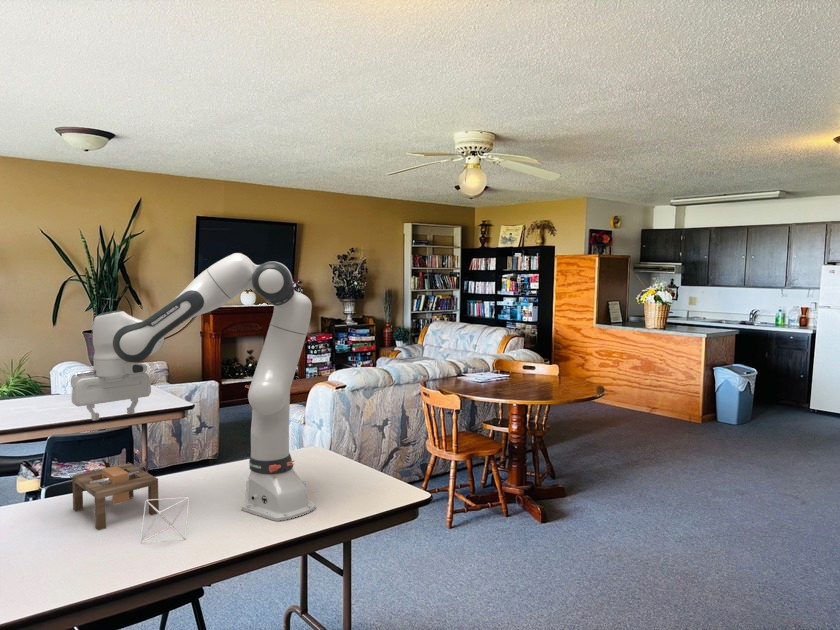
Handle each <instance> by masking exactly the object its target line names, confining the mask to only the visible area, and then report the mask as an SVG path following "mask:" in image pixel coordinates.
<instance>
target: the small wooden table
mask: <svg viewBox="0 0 840 630" xmlns="http://www.w3.org/2000/svg"><path fill="white" fill-rule="evenodd" d="M117 466H118V467H119V468H121V469H123V470H124V471H126V472H128V473H131V472H135V471H139V473H134V478H129V480H128V481H124V482H120V483H116V484H111V485H107V486H102V485H100V484H99V483H97V482H95V483H90V482H91V481H95V480H99V479H102V469H103V468H101V469H96V470H91V471H88V472H82V473H78V474H74V475H72V476H71V477H72V478H71V480H72V509H73V511H74V512H80V511H82V510H84V495H83V493H84V491H85V492H87V493H89V494H90V495H91V496H92V497H93V498H94V525H95V526H94V527H95V529H96V530H97V531H101V530H104V529H107V513H106V512H107V511H106V510H107V507H106V504H107V503H106V498H107V497H111V496H112V497H113V495H116V494H120V493H124V492H128V491H129V499H131V498H133V497H134V492H135V490H136V491H137V490H140V489H143V488H147V493H148V494H147V495H148V496H147V498H148V499H147V500H148V502H149V503H150V504H151V505H153V506H154V507H155V508H156V509H157V510H158V511H159V510H160V508H159V507H160V504H159V503H160V502H159V501H160V500H149V499H159V478H157V477H156V476H153V475H152V474H150V473H149V472H146V471H145V470H143V469H142V468H139V467H138V466H136V465H135V464H133V463H131V462H129V463H125V464H119V465H117ZM83 490H84V491H83ZM148 502H147V503H148ZM156 509H155V510H156ZM155 510H154V509H153V508H152V507H151V506H150V505H149V504H148V514H149V515H150V516H155V515H158V513H159V512H160V511H159V512H158V511H157V510H156V511H157V512H158V513H157V512H156V511H155Z"/></svg>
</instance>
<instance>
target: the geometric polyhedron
mask: <svg viewBox="0 0 840 630" xmlns="http://www.w3.org/2000/svg"><path fill="white" fill-rule="evenodd" d="M178 499H181V500H180V501H178V502H177V503H174V504H172V505H170V506H168V507H166V508H165V509H163V510H160V511H158V510H157V509H156V508H155V507H154V506H153V505H151V504H150V503H149V502H148V499H145V501H144V509H143V517H142V524H141V532H140V541H139V542H140V544H148V543H151V544H152V543H160V542H161V543H162V542H164V543H165V542H175V541H177V542H178V541H185V540H186V539H187V529H188V519H189V509H190V508H189V505H190V497H189V496H188V497H187V496H184V497H183V496H182V497H172V498H171V497H169V498H168V497H166V498H165V497H164V498H158V499H149V500H159V501H160V500H161V501H162V500H163V501H164V500H178ZM184 501H185V502H184ZM182 502H184V504H183V505H182V507H181V509H180V510H179V512H178V513H177V515H176V517H175V518H174V520H173V521H172V523H171V522H170V521H169V520H168V518H166V516H164V515H163V514H162V512H165V511H166V510H168V509H170V508H173V507H174V506H176V505H179V504H180V503H182ZM147 504H148V506H149V505H150V506H151V507H152V508H153V509H154V510H155V509H156V510H157V511H158V512H159V513H158V512H157V511H156V510H155V511H156V512H157V513H158V514H156V517H155V518H154V520H153V522H152V523H151V525H150V527H149V528H148V529H147V531H146V533H145V534H144V535H143V532H144V531H143V529H144V522H145V513H146V506H147ZM186 504H187V512H186V523H185V533H184V536H183V535H182V534H181V532H179V530H177V529H176V528H175V526H174V522H176V520H177V518H178V516H179V514H180V513H181V512H182V510H183V508H184V507H185V506H186ZM159 516H160V518H161V519H163V521H164V522H166V524H167V525H168V527H166V528H164V529H163V530H161V531H158V532H157V533H156V534H153V535H151V536H150V537H148V538H146V539H145V537H146V536H147V534H148V532H149V531H150V530H151V528H152V526H153V525H154V524H155V522H156V520H157V518H158V517H159ZM169 528H172V530H173V531H175V532H176V533H177V534H178V535H179V536H180V537H181V539H170V540H169V539H168V540H158V541H157V540H155V541H153V540H152V541H147V540H149V539H151V538H153V537H155V536H156V535H158V534H160V533H162V532H163V531H165V530H167V529H169Z"/></svg>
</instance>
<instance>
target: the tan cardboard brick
mask: <svg viewBox="0 0 840 630" xmlns="http://www.w3.org/2000/svg"><path fill="white" fill-rule="evenodd" d="M118 466H119V465H114V466H109V467H105V468H101V469H102V479H104V478H109V479H110V480H112V483H108V484H103V485H102V486H107V485H111V484H116V483H120V482H124V481H128V480H129V473H128V472H126V471H124V470H123V469H121V468H119V467H118ZM126 502H130V498H129V491H128V492H124V493H120V494H116V495H112V504H113V505H118V504H122V503H126Z"/></svg>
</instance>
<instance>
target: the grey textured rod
mask: <svg viewBox="0 0 840 630" xmlns="http://www.w3.org/2000/svg"><path fill="white" fill-rule="evenodd" d="M134 473H139V471H135V472H131V473H129V478H133V479H134ZM95 482H97V483H99V484H100V485H103V484H108V483H112V480H110V479H109V478H104V479H99V480H95V481H91V482H90V483H95Z"/></svg>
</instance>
